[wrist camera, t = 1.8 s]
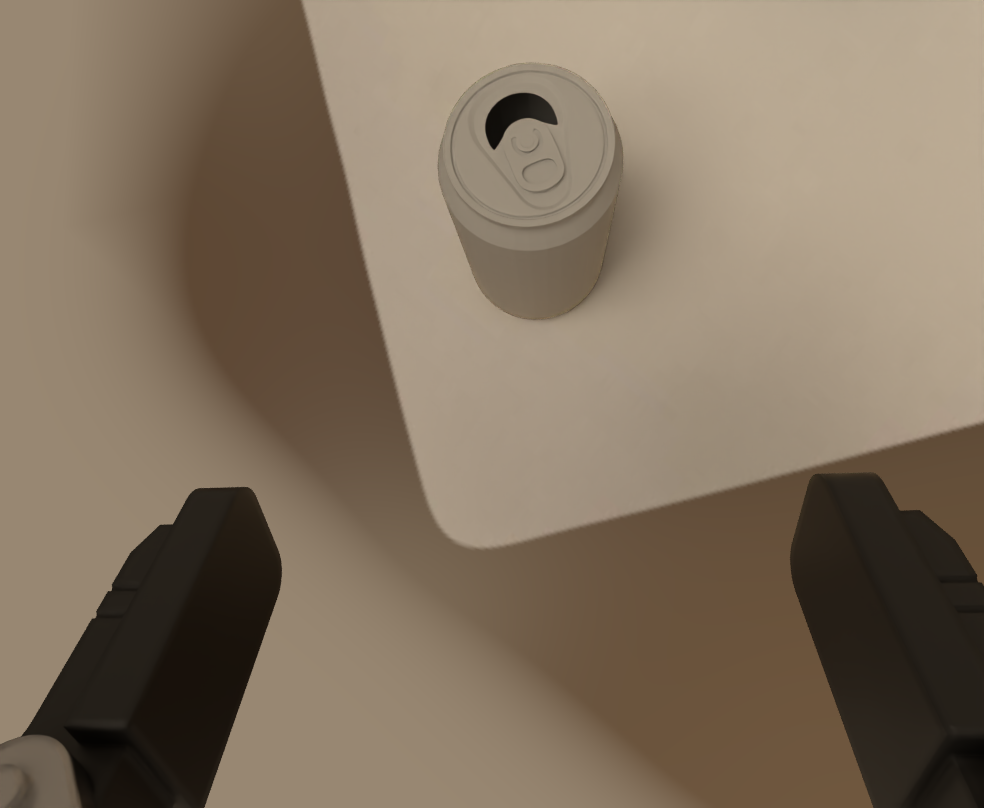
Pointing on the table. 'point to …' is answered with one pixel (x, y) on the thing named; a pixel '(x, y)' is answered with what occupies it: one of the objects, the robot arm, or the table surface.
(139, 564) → the robot arm
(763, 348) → the table surface
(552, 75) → the beverage can
